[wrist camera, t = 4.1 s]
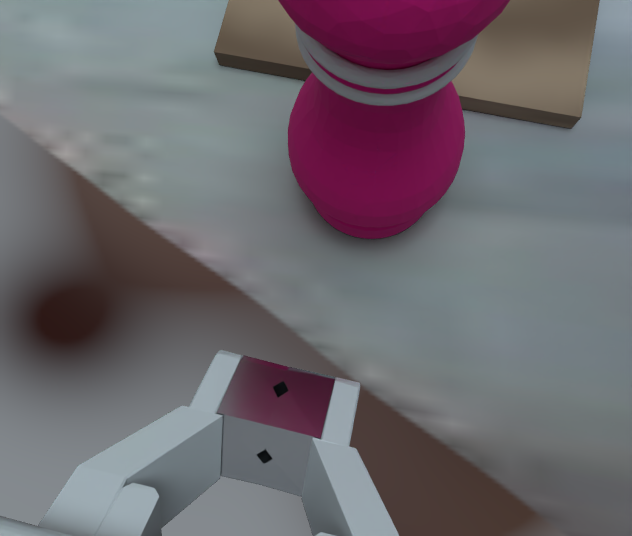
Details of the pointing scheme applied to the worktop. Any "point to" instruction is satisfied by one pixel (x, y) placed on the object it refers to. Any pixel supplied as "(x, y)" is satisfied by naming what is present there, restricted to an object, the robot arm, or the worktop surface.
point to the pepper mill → (380, 106)
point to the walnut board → (481, 68)
